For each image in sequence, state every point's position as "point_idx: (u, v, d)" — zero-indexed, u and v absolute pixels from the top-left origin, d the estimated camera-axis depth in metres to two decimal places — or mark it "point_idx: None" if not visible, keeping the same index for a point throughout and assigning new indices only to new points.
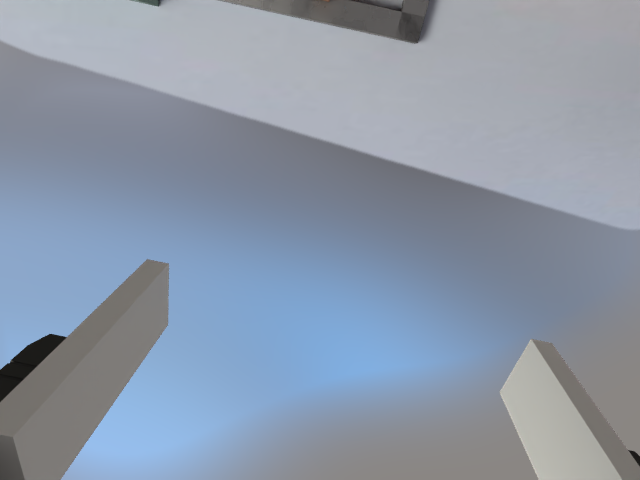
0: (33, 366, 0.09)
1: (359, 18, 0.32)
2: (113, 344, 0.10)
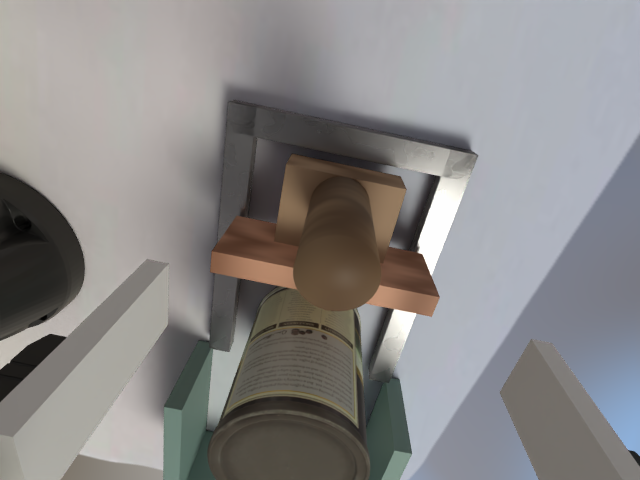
0: (33, 366, 0.09)
1: (440, 221, 0.29)
2: (112, 344, 0.10)
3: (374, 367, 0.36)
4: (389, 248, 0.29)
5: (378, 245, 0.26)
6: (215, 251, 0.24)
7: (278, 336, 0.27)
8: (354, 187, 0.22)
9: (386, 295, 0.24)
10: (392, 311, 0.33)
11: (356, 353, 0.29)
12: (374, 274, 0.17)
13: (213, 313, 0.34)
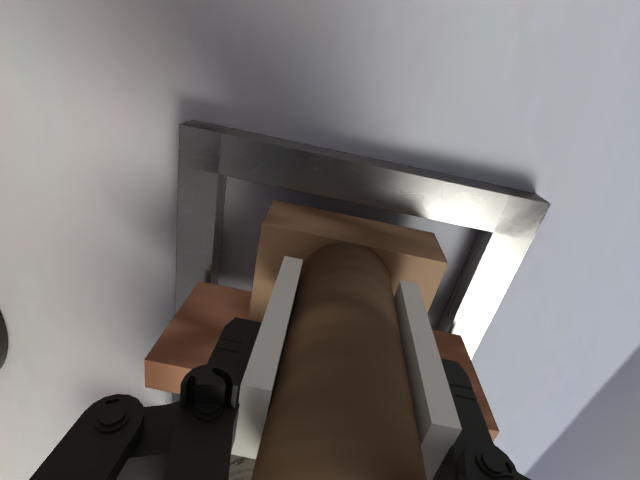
0: (237, 342, 0.11)
1: (488, 292, 0.20)
2: (287, 325, 0.12)
3: None
4: None
5: None
6: (150, 359, 0.15)
7: (254, 463, 0.19)
8: (368, 267, 0.14)
9: None
10: None
11: None
12: None
13: (175, 398, 0.26)
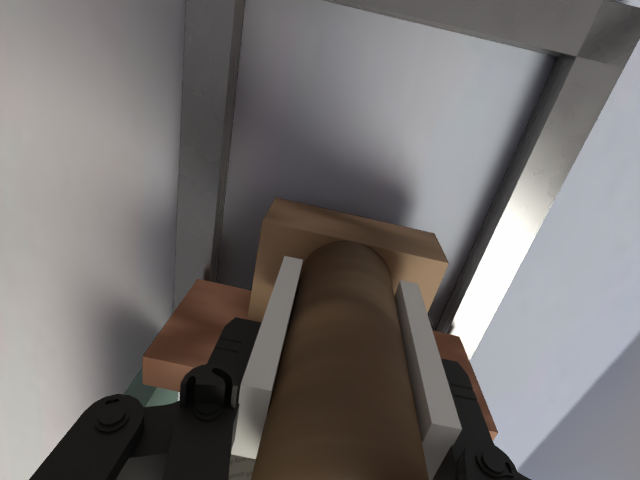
0: (237, 342, 0.11)
1: (562, 146, 0.16)
2: (287, 325, 0.12)
3: None
4: None
5: None
6: (148, 356, 0.15)
7: None
8: (369, 265, 0.14)
9: None
10: (458, 303, 0.21)
11: None
12: None
13: (176, 302, 0.22)
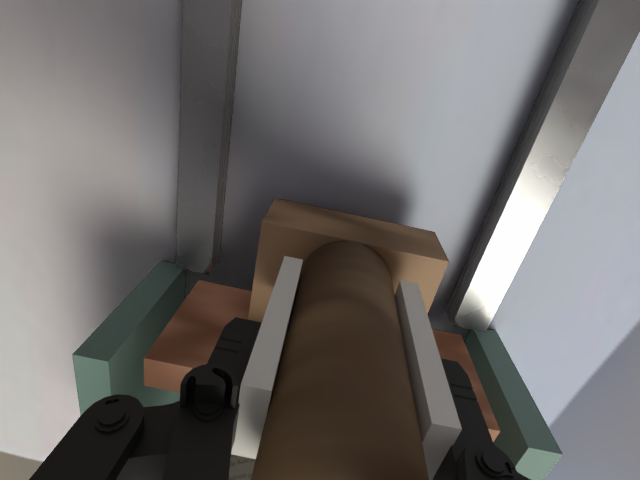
0: (237, 342, 0.11)
1: None
2: (287, 325, 0.12)
3: (463, 302, 0.20)
4: None
5: None
6: (150, 358, 0.15)
7: None
8: (369, 265, 0.14)
9: None
10: (510, 188, 0.18)
11: None
12: None
13: (180, 197, 0.19)
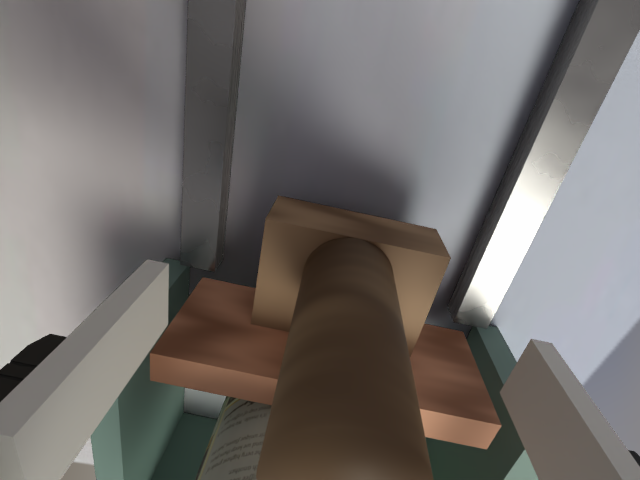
0: (33, 366, 0.09)
1: None
2: (112, 344, 0.10)
3: (465, 299, 0.20)
4: None
5: (404, 332, 0.17)
6: (155, 353, 0.15)
7: None
8: (371, 261, 0.14)
9: None
10: (512, 185, 0.18)
11: None
12: None
13: (185, 194, 0.19)
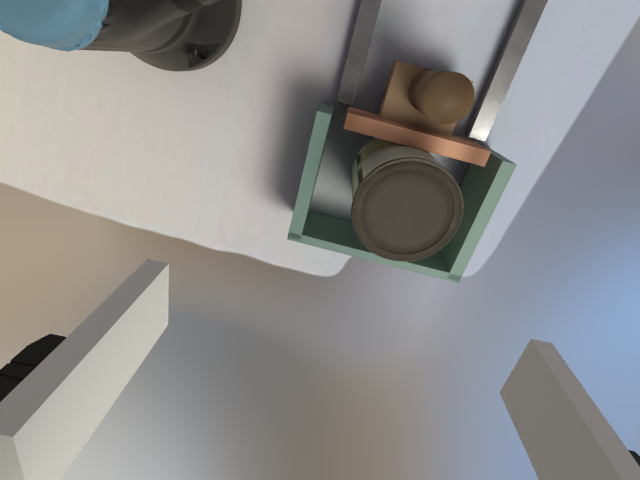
0: (33, 366, 0.09)
1: None
2: (112, 344, 0.10)
3: (475, 123, 0.42)
4: (451, 134, 0.42)
5: None
6: (349, 113, 0.37)
7: (389, 146, 0.38)
8: None
9: (456, 149, 0.37)
10: (500, 60, 0.39)
11: None
12: (470, 98, 0.30)
13: (347, 60, 0.40)
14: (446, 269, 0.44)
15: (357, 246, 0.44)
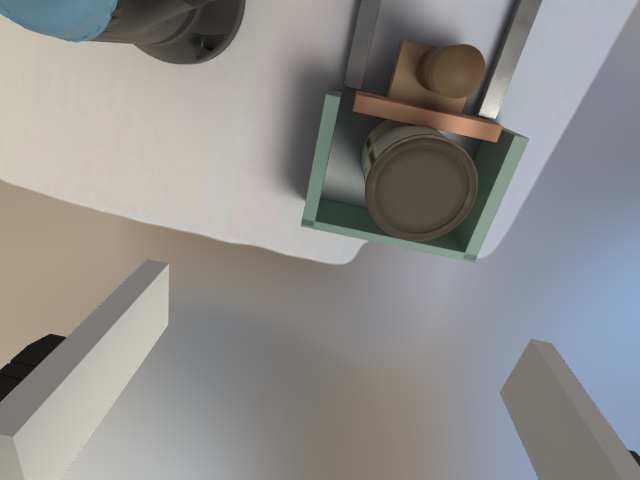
0: (33, 366, 0.09)
1: None
2: (112, 344, 0.10)
3: (484, 100, 0.42)
4: None
5: (459, 100, 0.39)
6: (358, 95, 0.37)
7: (400, 127, 0.38)
8: None
9: (467, 126, 0.37)
10: (507, 35, 0.39)
11: None
12: (481, 70, 0.29)
13: (353, 44, 0.40)
14: (461, 249, 0.44)
15: (371, 230, 0.44)
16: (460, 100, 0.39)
